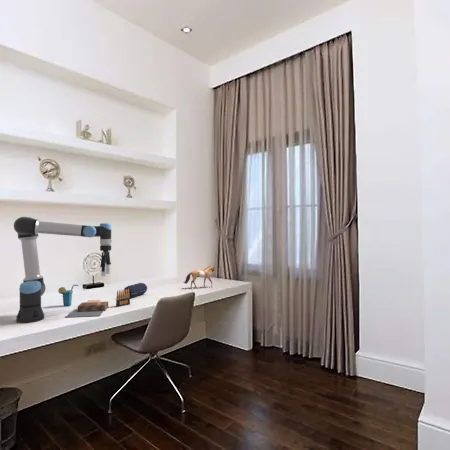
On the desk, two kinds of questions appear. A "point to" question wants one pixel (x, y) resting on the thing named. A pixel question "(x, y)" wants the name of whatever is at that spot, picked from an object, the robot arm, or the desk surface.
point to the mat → (84, 314)
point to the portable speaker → (136, 289)
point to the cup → (66, 295)
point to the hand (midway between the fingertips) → (105, 275)
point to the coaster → (92, 302)
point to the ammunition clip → (122, 298)
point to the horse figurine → (200, 275)
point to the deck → (92, 307)
